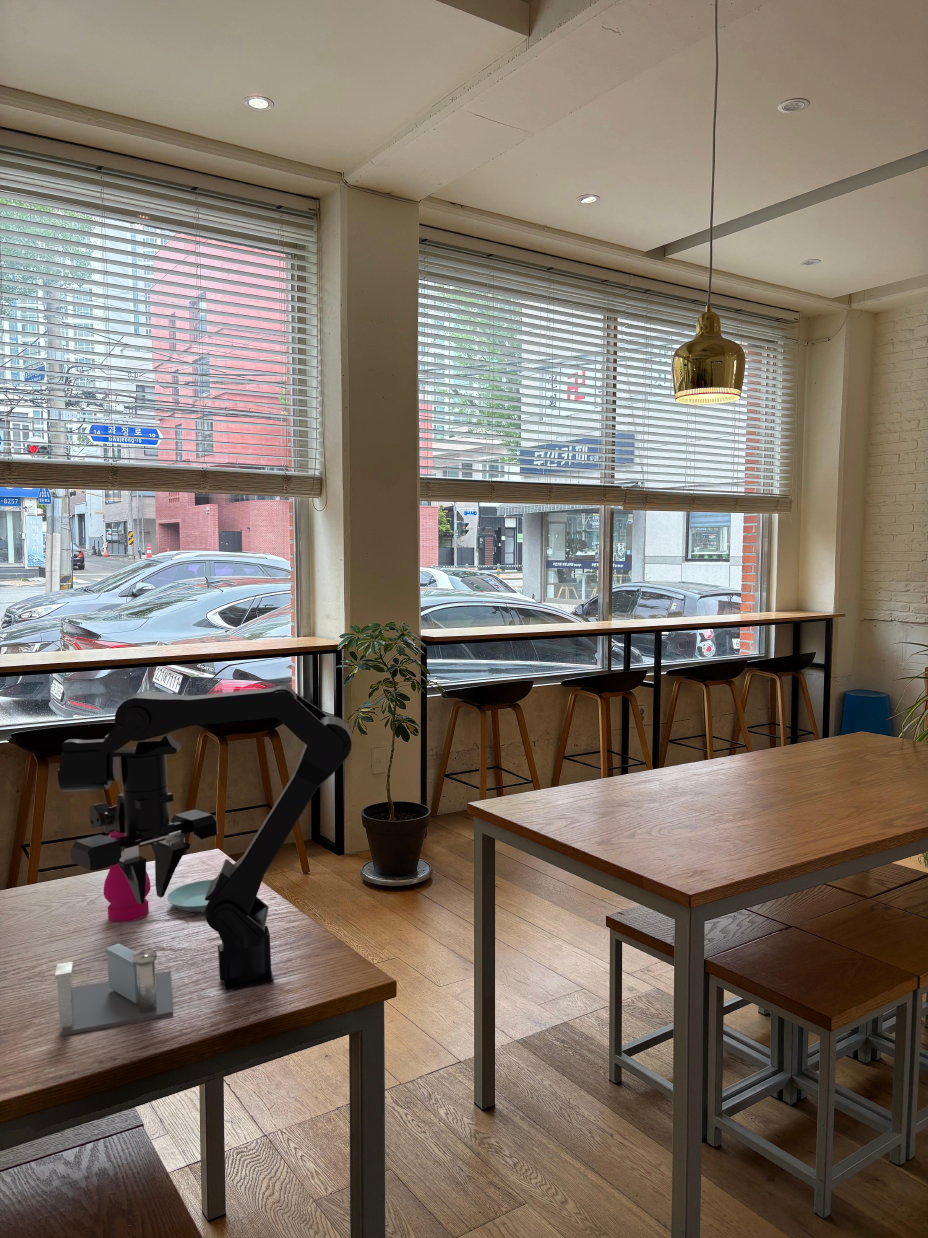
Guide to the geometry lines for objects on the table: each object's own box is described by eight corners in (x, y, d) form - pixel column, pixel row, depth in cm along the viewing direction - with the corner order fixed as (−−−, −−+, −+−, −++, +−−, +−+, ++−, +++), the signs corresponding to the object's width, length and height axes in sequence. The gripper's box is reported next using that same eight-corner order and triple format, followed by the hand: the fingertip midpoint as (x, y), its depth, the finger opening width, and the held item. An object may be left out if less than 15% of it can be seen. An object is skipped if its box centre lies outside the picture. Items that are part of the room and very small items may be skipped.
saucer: (170, 924, 143) (169, 910, 143) (165, 898, 154) (164, 885, 154) (245, 911, 148) (244, 898, 147) (235, 887, 158) (235, 875, 158)
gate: (147, 998, 117) (145, 957, 116) (134, 1004, 115) (132, 962, 115) (120, 983, 121) (118, 943, 121) (107, 988, 120) (105, 948, 119)
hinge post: (159, 1005, 117) (156, 949, 116) (159, 1015, 114) (156, 958, 113) (136, 1009, 116) (133, 952, 115) (136, 1020, 113) (133, 961, 113)
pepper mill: (136, 925, 143) (129, 801, 141) (95, 922, 144) (88, 800, 143) (160, 907, 150) (154, 789, 148) (121, 904, 151) (115, 788, 150)
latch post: (76, 1019, 114) (73, 961, 113) (74, 1032, 111) (70, 972, 110) (60, 1022, 113) (57, 964, 112) (58, 1035, 110) (54, 975, 109)
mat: (170, 974, 125) (170, 971, 125) (172, 1015, 114) (172, 1011, 114) (69, 991, 121) (69, 988, 121) (61, 1036, 110) (61, 1032, 110)
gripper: (174, 765, 132) (178, 868, 134) (47, 792, 118) (54, 907, 119) (217, 776, 125) (222, 884, 126) (89, 806, 111) (95, 928, 112)
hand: (150, 900), depth 121 cm, fingers open, 3 cm apart
